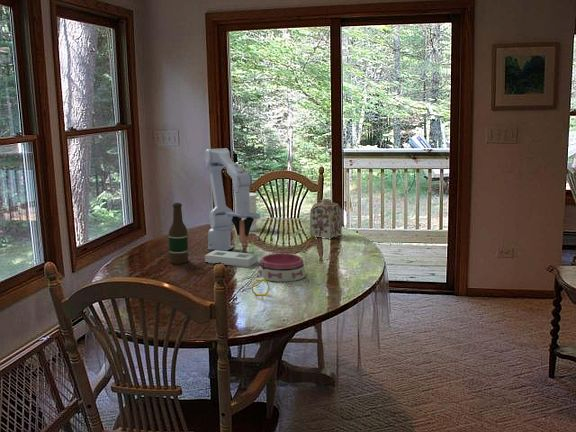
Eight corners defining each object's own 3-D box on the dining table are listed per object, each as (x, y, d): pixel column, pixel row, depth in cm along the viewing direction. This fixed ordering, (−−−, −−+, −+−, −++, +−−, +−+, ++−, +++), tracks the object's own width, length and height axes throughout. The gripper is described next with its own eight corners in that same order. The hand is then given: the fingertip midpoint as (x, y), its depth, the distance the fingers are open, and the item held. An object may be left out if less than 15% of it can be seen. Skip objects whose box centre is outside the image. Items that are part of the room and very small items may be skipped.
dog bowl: (313, 280, 219) (313, 262, 218) (263, 285, 214) (263, 266, 212) (298, 267, 236) (298, 250, 235) (252, 271, 231) (252, 253, 230)
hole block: (205, 262, 242) (204, 255, 241) (215, 257, 250) (214, 250, 250) (248, 266, 236) (248, 259, 235) (257, 261, 244) (257, 254, 243)
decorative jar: (342, 235, 292) (342, 198, 288) (330, 239, 282) (331, 202, 279) (320, 232, 298) (321, 196, 295) (308, 236, 288) (309, 200, 285)
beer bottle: (192, 260, 245) (190, 202, 241) (182, 265, 238) (181, 205, 234) (175, 258, 248) (173, 201, 243) (165, 263, 241) (163, 204, 236)
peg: (238, 242, 246) (238, 221, 244) (241, 241, 248) (240, 219, 247) (245, 243, 245) (244, 221, 243) (247, 241, 247) (247, 220, 246)
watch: (252, 297, 200) (250, 280, 199) (252, 294, 203) (250, 278, 202) (270, 295, 201) (268, 278, 199) (269, 293, 203) (268, 276, 202)
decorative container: (257, 231, 299) (257, 196, 296) (234, 231, 299) (233, 196, 296) (258, 226, 310) (258, 192, 307) (236, 226, 311) (236, 192, 307)
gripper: (222, 203, 242) (222, 235, 244) (255, 205, 237) (255, 238, 240) (229, 200, 249) (229, 232, 251) (261, 202, 244) (262, 234, 246)
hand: (243, 235), depth 246 cm, fingers closed on peg, 3 cm apart
